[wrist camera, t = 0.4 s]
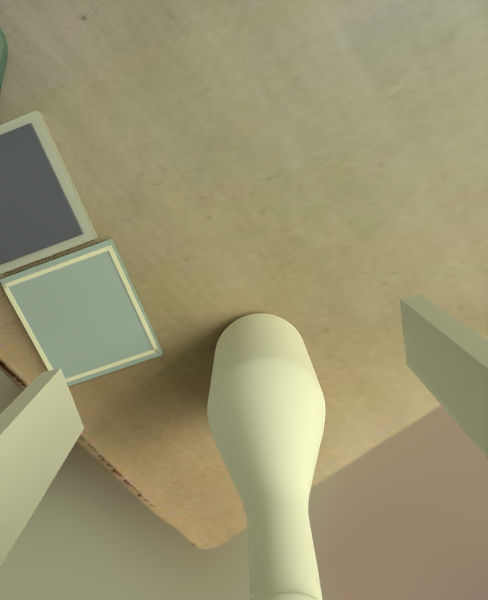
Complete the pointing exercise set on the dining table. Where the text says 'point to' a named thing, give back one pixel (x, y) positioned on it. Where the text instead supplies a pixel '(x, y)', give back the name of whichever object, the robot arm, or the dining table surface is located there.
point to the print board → (83, 313)
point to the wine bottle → (270, 447)
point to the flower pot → (2, 55)
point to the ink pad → (36, 196)
